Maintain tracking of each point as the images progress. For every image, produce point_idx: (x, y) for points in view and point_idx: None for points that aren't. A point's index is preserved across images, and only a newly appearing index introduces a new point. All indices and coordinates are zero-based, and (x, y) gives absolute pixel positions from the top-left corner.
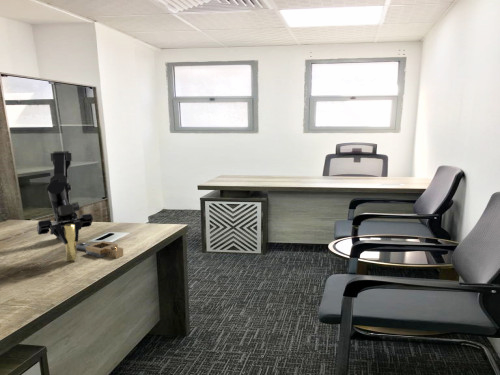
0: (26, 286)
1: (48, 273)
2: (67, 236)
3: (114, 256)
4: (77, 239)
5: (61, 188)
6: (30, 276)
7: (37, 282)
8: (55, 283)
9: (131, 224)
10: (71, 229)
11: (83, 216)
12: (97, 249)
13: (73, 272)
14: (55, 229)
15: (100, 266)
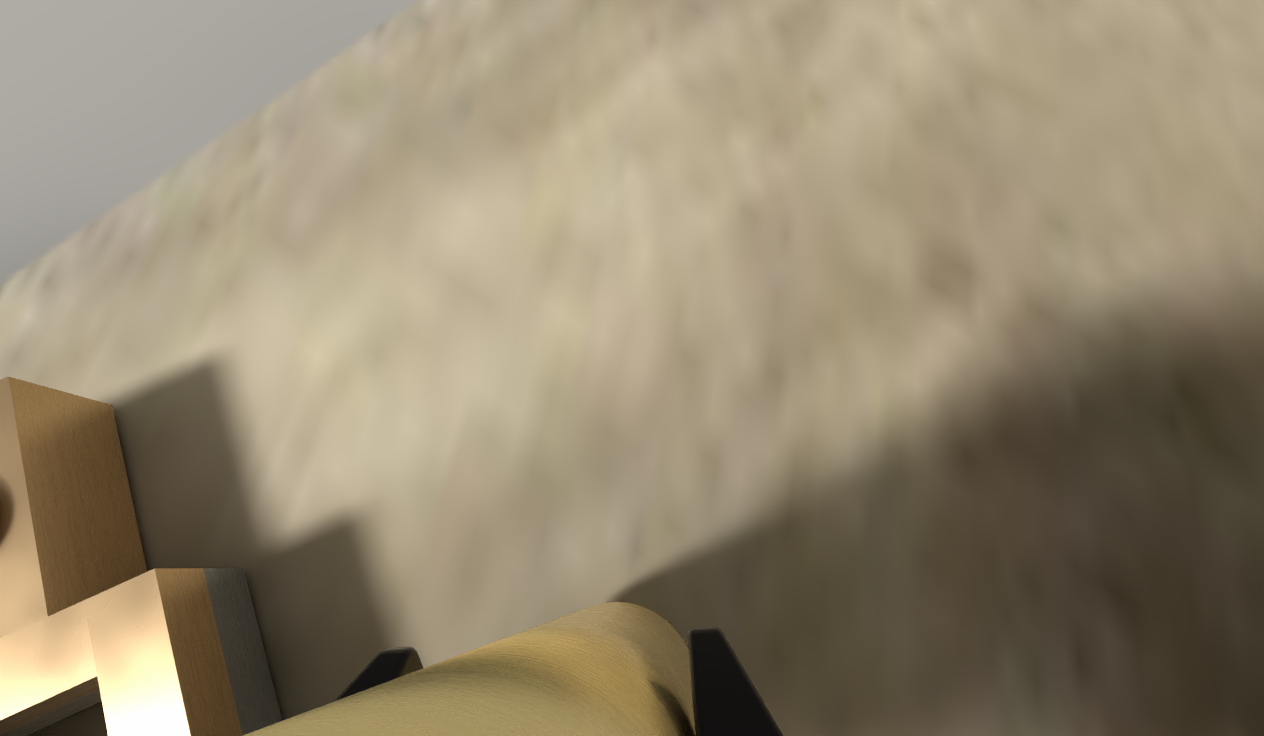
0: (1208, 100)
1: (972, 371)
2: (629, 687)
3: (98, 428)
4: (376, 667)
5: None
6: (1200, 393)
7: (1094, 150)
8: (905, 32)
9: None
10: (364, 697)
11: None
12: (167, 644)
13: (686, 235)
14: None
15: (372, 256)
